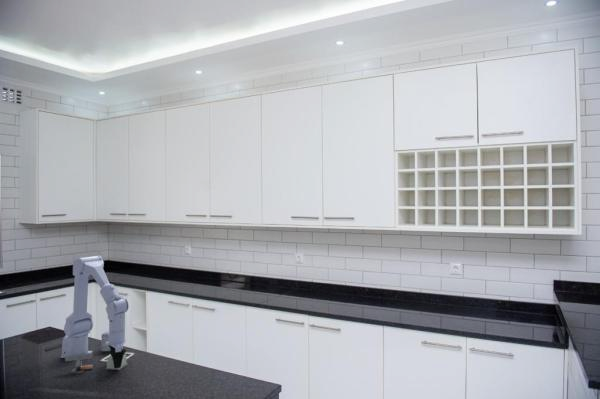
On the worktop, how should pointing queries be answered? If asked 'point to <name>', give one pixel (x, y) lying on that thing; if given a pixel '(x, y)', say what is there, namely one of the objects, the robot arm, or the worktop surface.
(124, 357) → the cover
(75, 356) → the tee key
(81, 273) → the robot arm
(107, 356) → the tray
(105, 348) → the medicine box
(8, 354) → the worktop surface
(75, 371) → the lock plate
